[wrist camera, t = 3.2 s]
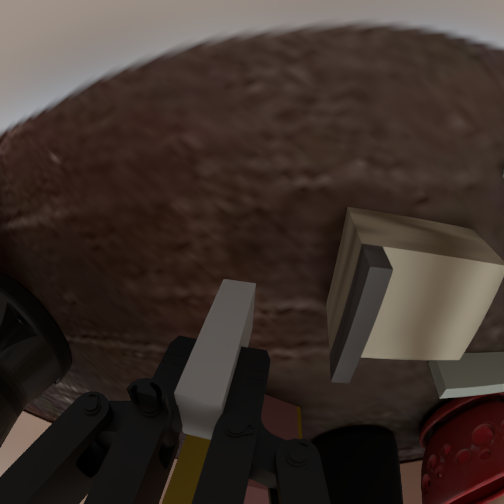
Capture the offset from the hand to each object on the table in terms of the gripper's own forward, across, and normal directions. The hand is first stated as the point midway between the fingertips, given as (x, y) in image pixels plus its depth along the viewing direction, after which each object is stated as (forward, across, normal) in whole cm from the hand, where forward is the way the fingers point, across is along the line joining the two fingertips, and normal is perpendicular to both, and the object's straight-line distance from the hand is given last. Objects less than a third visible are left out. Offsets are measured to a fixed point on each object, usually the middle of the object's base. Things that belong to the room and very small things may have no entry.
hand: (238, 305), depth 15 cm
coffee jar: (+6, +13, -24) cm, 28 cm away
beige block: (+6, +10, 0) cm, 11 cm away
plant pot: (+6, +25, -17) cm, 31 cm away
